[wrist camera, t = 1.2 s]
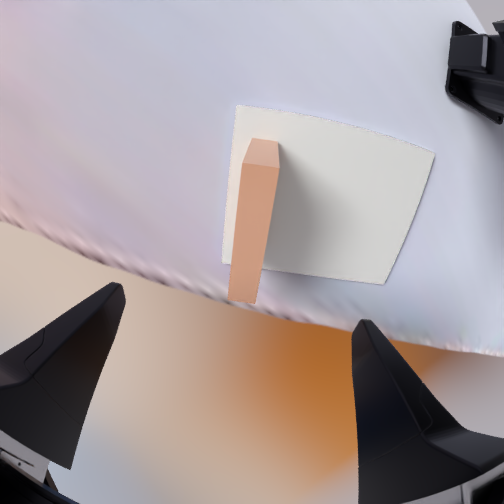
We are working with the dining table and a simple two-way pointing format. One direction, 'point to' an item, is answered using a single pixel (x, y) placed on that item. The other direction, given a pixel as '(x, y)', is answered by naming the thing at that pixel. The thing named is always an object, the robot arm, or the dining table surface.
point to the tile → (253, 218)
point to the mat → (330, 194)
